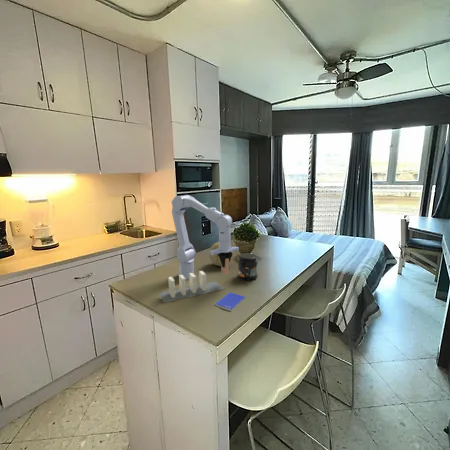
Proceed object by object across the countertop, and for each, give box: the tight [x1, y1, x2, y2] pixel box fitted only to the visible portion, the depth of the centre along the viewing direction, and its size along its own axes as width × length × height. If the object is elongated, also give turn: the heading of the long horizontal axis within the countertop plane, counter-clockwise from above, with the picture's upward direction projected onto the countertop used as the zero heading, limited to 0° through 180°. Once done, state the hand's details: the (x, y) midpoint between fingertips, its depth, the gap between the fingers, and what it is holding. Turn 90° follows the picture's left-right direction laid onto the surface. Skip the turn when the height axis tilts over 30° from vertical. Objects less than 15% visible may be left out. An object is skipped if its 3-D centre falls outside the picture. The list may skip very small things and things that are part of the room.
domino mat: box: [158, 280, 225, 303], centre depth 119 cm, size 10×29×1 cm, turn 116°
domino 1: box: [167, 276, 176, 298], centre depth 114 cm, size 5×2×8 cm, turn 26°
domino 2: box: [178, 275, 187, 295], centre depth 116 cm, size 5×2×8 cm, turn 26°
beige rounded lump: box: [208, 241, 234, 267], centre depth 152 cm, size 15×15×15 cm
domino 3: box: [188, 273, 197, 293], centre depth 118 cm, size 5×2×8 cm, turn 26°
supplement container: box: [237, 252, 258, 281], centre depth 134 cm, size 10×10×12 cm
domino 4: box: [198, 270, 207, 291], centre depth 120 cm, size 5×2×8 cm, turn 26°
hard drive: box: [214, 292, 246, 312], centre depth 109 cm, size 2×8×12 cm
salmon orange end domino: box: [220, 257, 230, 275], centre depth 124 cm, size 5×2×8 cm, turn 27°
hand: (225, 266), depth 124 cm, fingers closed on salmon orange end domino, 1 cm apart
